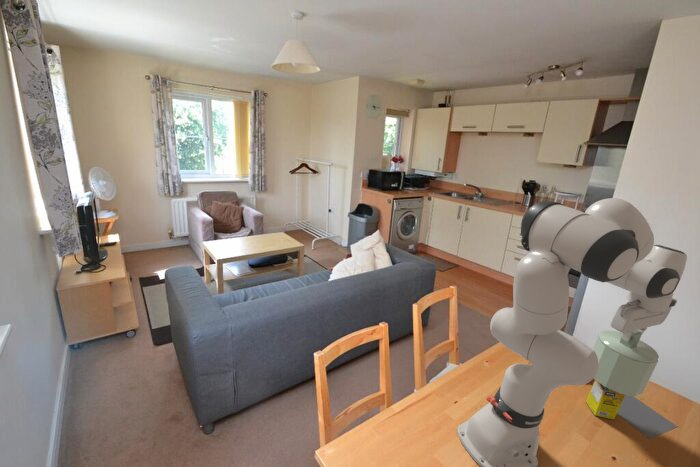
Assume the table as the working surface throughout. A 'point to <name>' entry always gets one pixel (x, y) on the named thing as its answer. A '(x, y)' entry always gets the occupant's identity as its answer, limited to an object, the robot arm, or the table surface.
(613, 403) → the supplement box
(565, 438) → the table surface
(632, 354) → the cloche
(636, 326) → the robot arm
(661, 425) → the slate mat
